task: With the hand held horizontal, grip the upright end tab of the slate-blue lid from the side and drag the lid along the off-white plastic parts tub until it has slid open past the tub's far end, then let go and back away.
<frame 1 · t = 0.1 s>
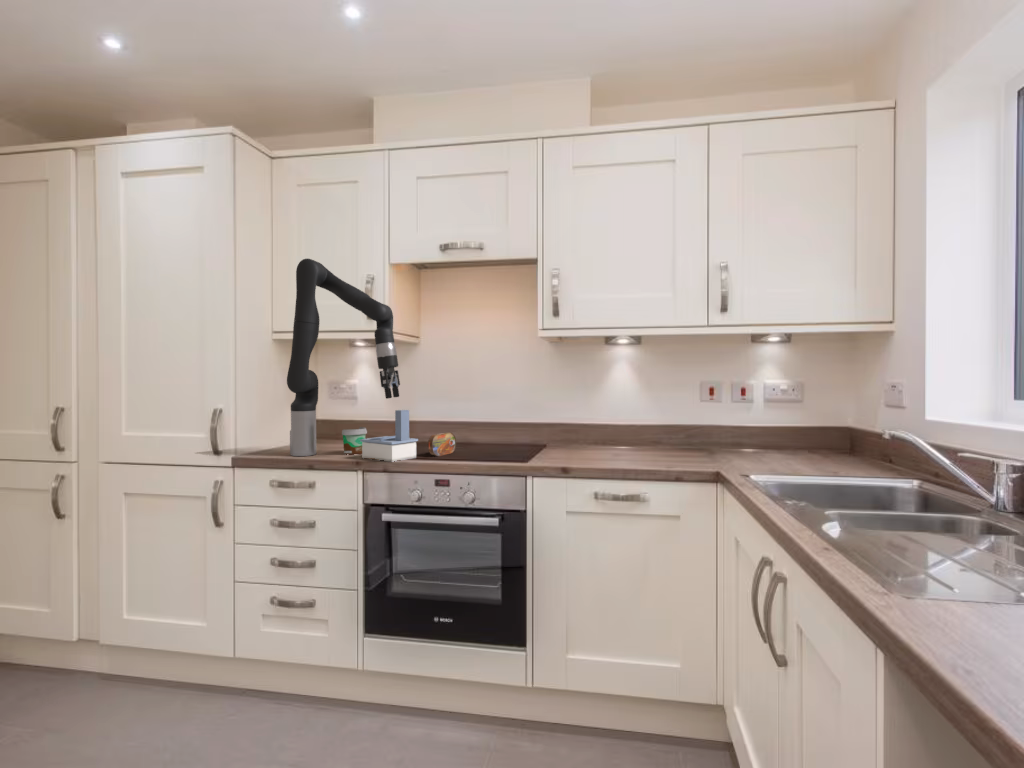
hand: (392, 397, 211), 22 cm above the counter, tool pointing down, fingers open, 8 cm apart
lid: (389, 425, 207), point 12 cm above the counter, slide at 0.0 cm
tub: (389, 458, 207), on the counter
food container: (358, 454, 219), on the counter
tin: (442, 455, 216), on the counter
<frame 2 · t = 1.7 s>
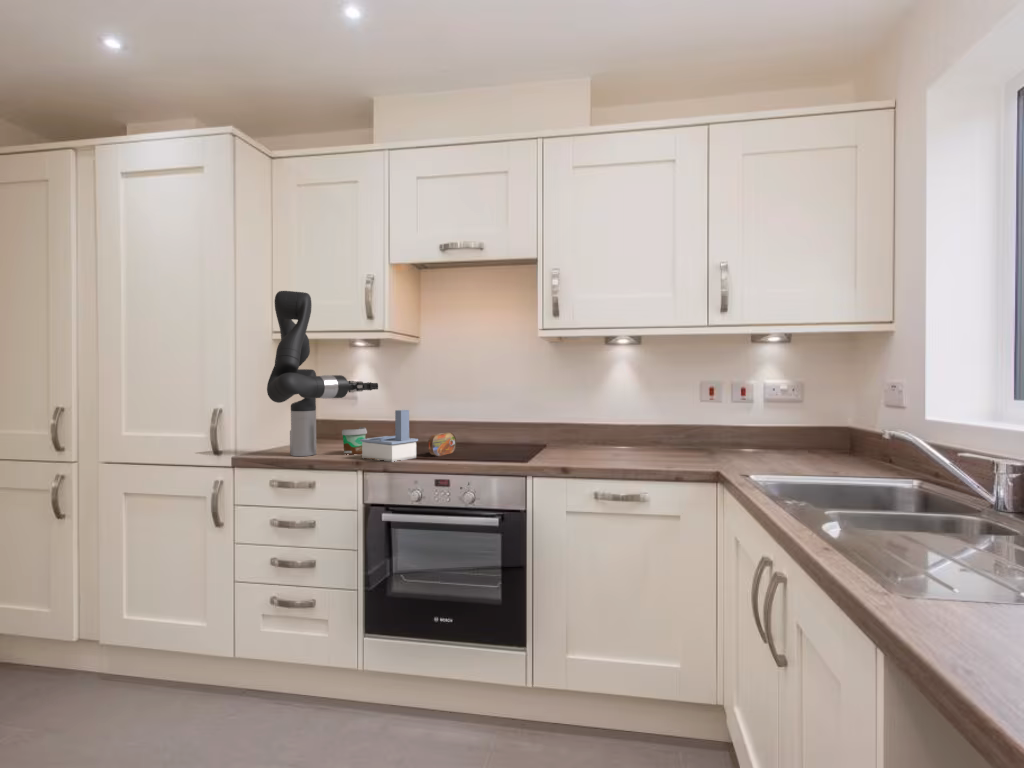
hand: (369, 386, 193), 27 cm above the counter, tool horizontal, fingers open, 8 cm apart
nothing on the counter moved.
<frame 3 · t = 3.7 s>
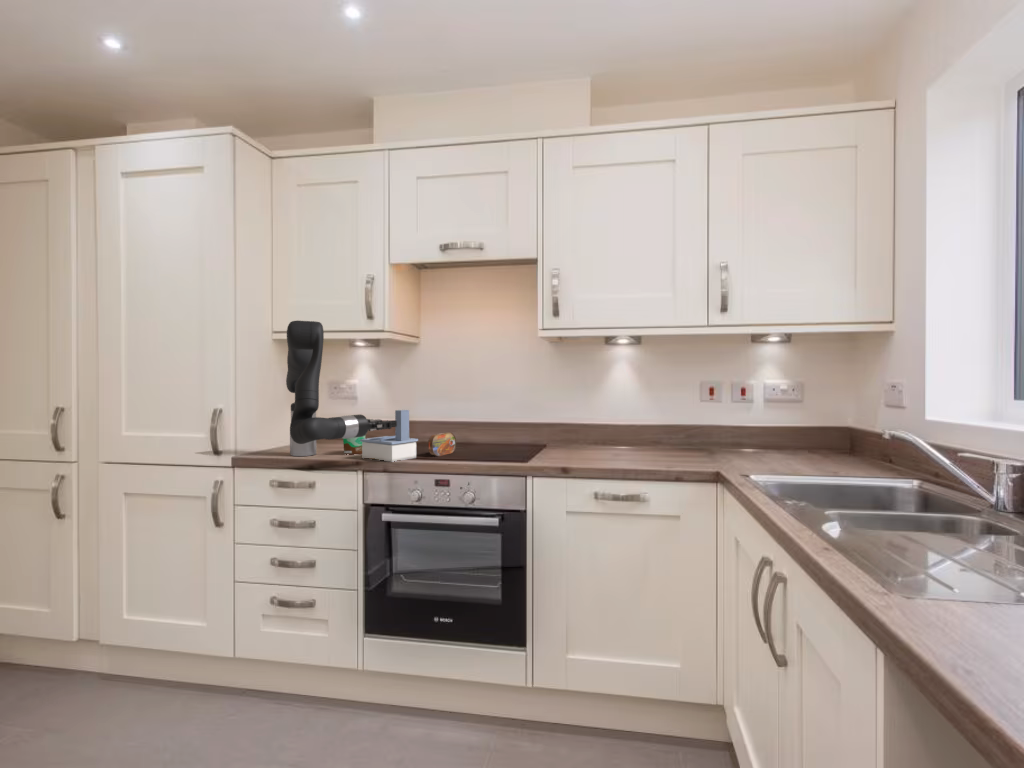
hand: (387, 422, 197), 14 cm above the counter, tool horizontal, fingers open, 8 cm apart
nothing on the counter moved.
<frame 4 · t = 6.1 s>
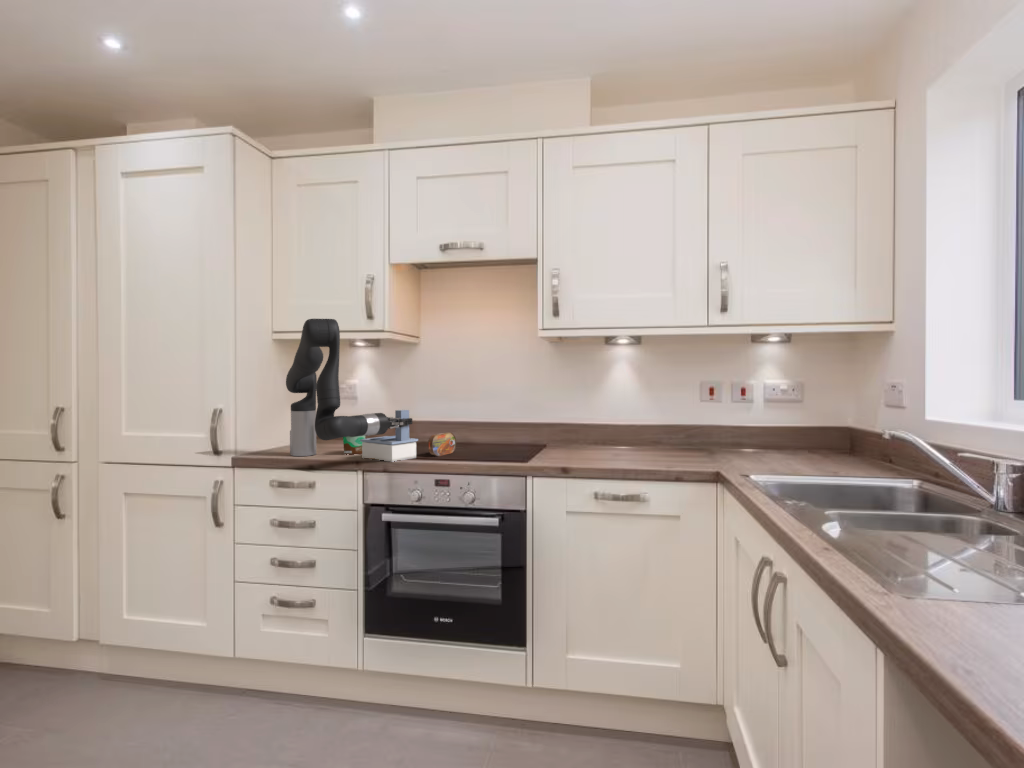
hand: (408, 420, 205), 14 cm above the counter, tool horizontal, fingers closed on lid, 3 cm apart
lid: (389, 425, 207), point 12 cm above the counter, slide at 0.0 cm, touching gripper
everything else where it was.
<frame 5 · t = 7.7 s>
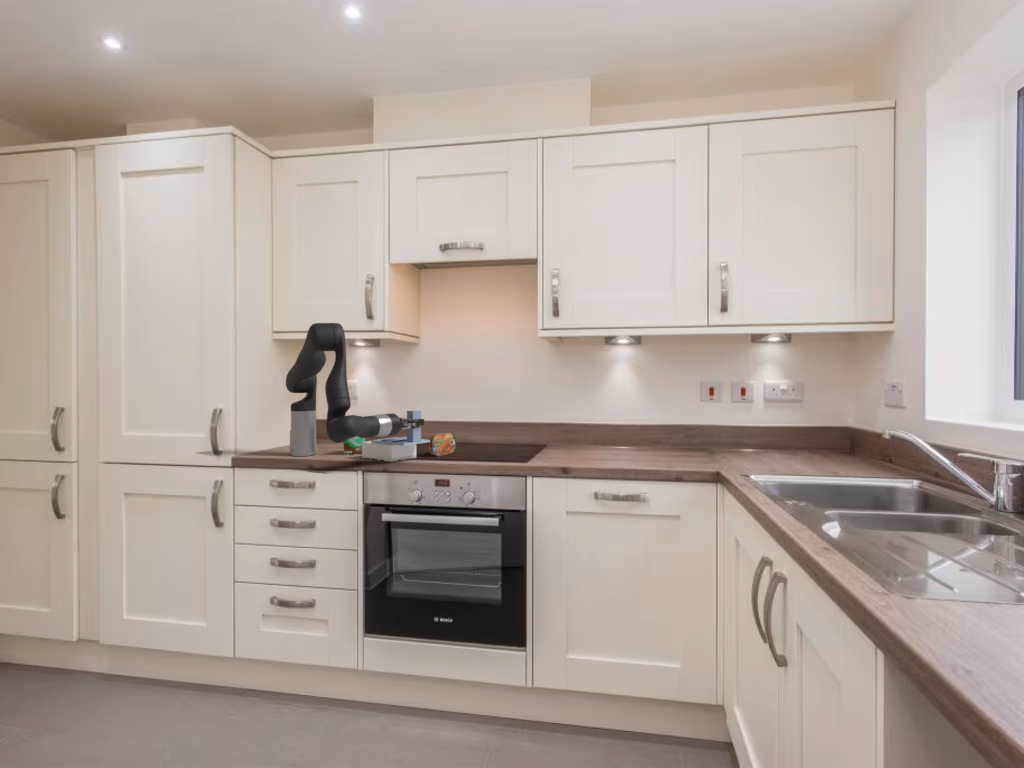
hand: (419, 421, 201), 14 cm above the counter, tool horizontal, fingers closed on lid, 3 cm apart
lid: (400, 426, 203), point 12 cm above the counter, slide at 6.0 cm, touching gripper
everything else where it was.
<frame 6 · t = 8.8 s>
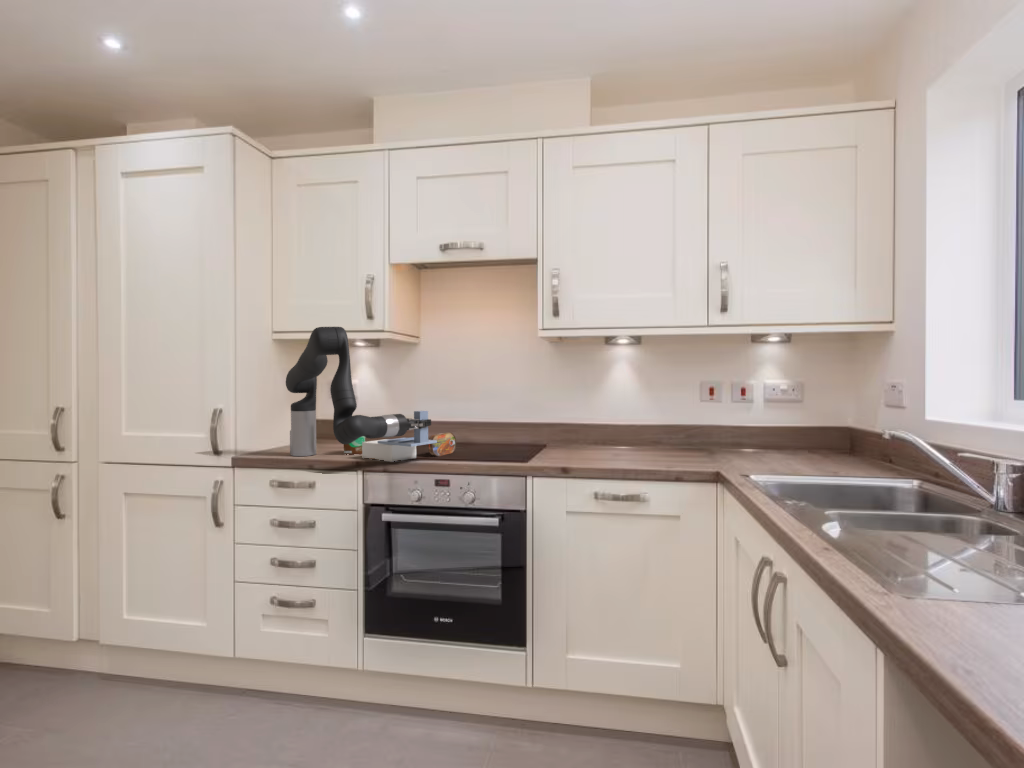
hand: (426, 422, 199), 14 cm above the counter, tool horizontal, fingers closed on lid, 3 cm apart
lid: (407, 426, 201), point 12 cm above the counter, slide at 9.5 cm, touching gripper
everything else where it was.
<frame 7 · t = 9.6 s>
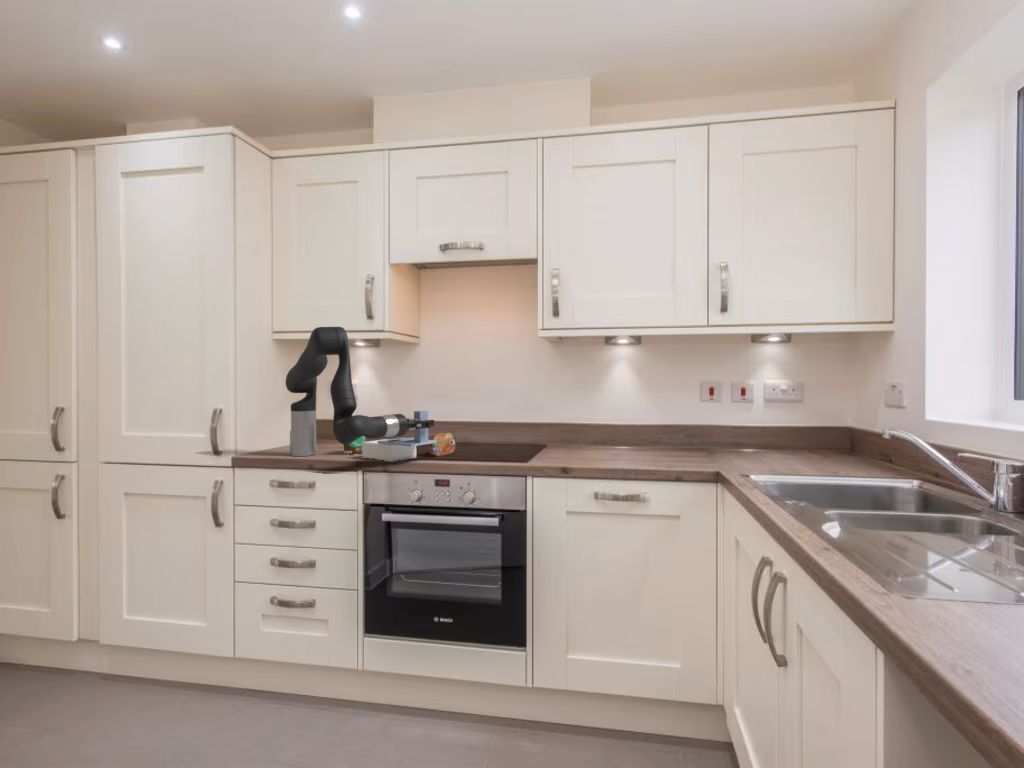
hand: (424, 422, 199), 14 cm above the counter, tool horizontal, fingers open, 8 cm apart
lid: (407, 426, 201), point 12 cm above the counter, slide at 9.5 cm
everything else where it was.
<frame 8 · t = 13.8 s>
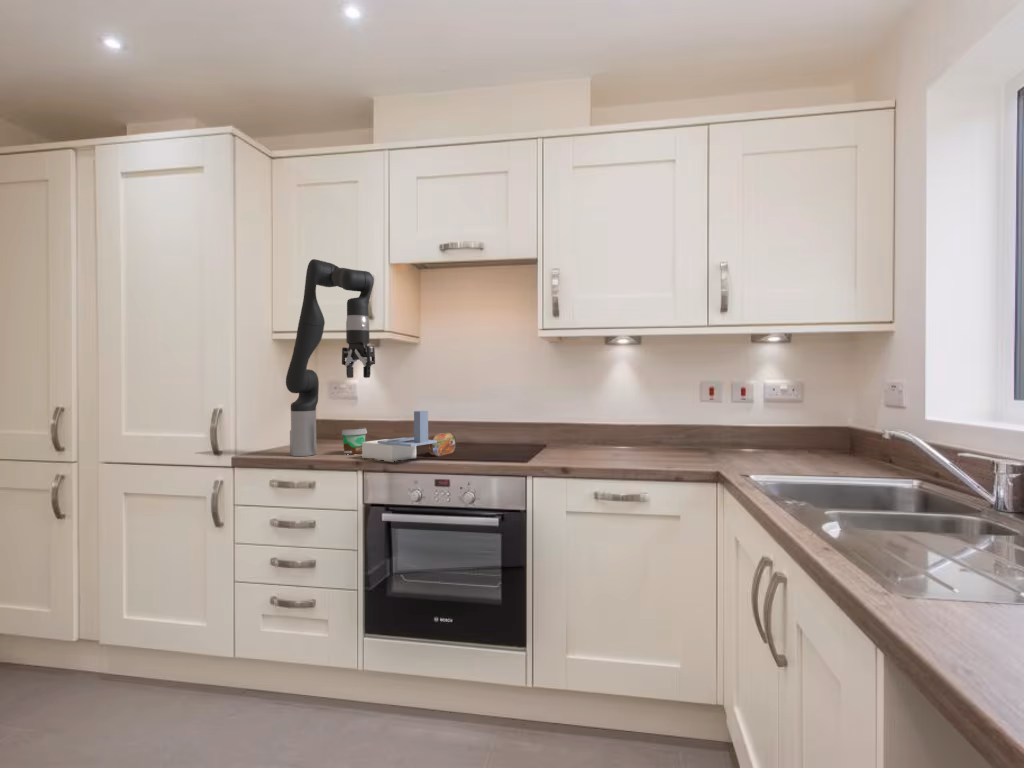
hand: (358, 377, 187), 30 cm above the counter, tool pointing down, fingers open, 8 cm apart
nothing on the counter moved.
at the end: lid slide at 9.5 cm; the gripper is holding nothing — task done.
